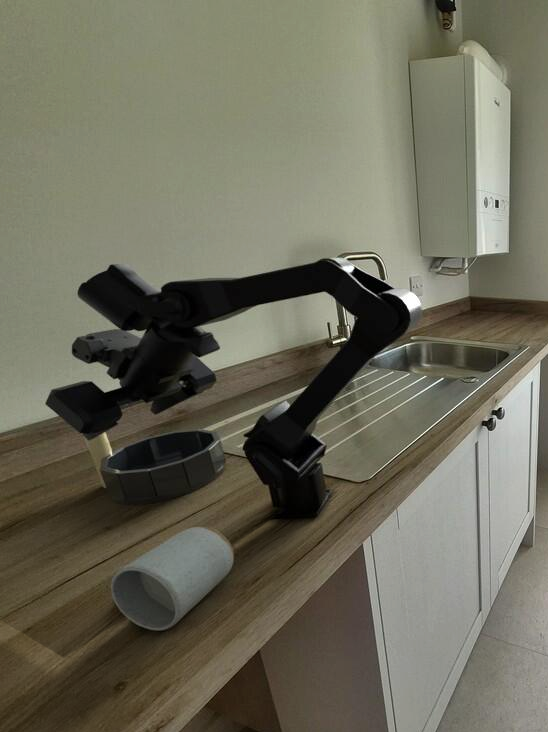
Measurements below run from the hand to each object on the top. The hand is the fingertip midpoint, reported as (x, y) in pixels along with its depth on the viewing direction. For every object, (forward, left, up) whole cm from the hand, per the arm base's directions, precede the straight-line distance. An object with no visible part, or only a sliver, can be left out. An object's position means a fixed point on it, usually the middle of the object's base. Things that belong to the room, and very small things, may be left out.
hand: (122, 424), depth 60 cm
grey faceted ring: (-1, -3, -11) cm, 12 cm away
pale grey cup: (-19, +21, -13) cm, 31 cm away
